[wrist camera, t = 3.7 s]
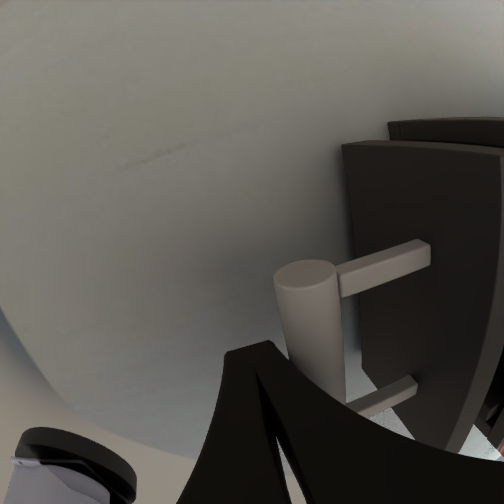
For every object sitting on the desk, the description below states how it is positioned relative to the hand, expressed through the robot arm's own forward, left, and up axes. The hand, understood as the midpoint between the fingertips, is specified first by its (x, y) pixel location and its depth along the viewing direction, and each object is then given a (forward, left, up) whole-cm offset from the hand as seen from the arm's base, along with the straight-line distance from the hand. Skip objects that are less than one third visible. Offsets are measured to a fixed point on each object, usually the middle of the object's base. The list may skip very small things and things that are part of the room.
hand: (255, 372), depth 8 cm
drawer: (+9, 0, -3) cm, 10 cm away
